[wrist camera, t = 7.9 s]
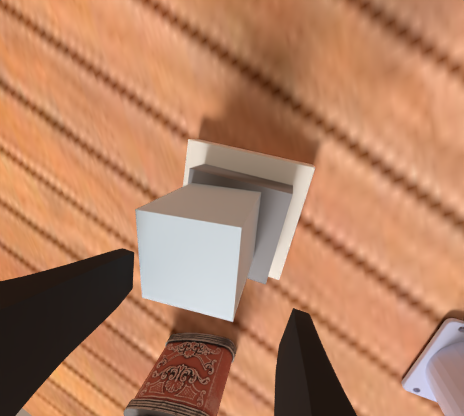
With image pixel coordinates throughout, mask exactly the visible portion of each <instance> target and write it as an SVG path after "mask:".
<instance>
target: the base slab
mask: <svg viewBox="0 0 464 416" xmlns="http://www.w3.org/2000/svg"><path fill="white" fill-rule="evenodd" d="M202 164H208V165H212V166H216V167H220V168H224V169H228V170H232V171H236V172H240V173H244V174H248V175H252V176H257V177H261V178H265V179H269V180H273V181H277V182H281V183H285V184H289V185H293V195H292V199H291V202H290V205H289V208H288V212H287V215H286V218H285V222H284V225H283V228H282V232H281V235H280V238H279V242H278V245H277V248H276V252H275V255H274V258H273V261H272V265H271V268H270V271H269V275H268V277H271V278H274V279H277V280H279V279H280V276H281V273H282V269H283V266H284V263H285V260H286V257H287V254H288V251H289V248H290V245H291V242H292V238H293V235H294V232H295V229H296V226H297V223H298V220H299V217H300V214H301V211H302V207H303V204H304V201H305V198H306V195H307V192H308V189H309V186H310V183H311V179H312V176H313V173H314V170H315V167H314V165H313V164H308V163H304V162H299V161H295V160H290V159H286V158H281V157H277V156H272V155H268V154H263V153H259V152H254V151H250V150H245V149H241V148H236V147H232V146H227V145H223V144H218V143H214V142H209V141H205V140H200V139H188V147H187V156H186V165H185V173H184V182H183V186H186V185H188V177H189V169H190V168H192V167H195V166H198V165H202Z"/></svg>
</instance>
